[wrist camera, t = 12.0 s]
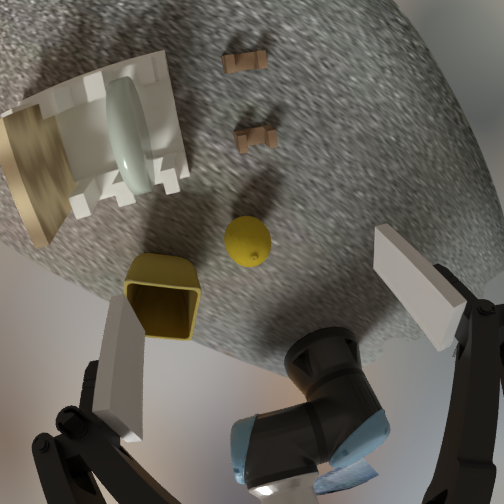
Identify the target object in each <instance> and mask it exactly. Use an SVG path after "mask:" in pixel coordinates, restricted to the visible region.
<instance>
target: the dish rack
mask: <svg viewBox="0 0 504 504" xmlns="http://www.w3.org/2000/svg"><path fill="white" fill-rule="evenodd" d="M125 76H129V77H130V78H131V79H132V81H133V83H134V85H135V87H136V90H137V92H138V95H139V98H140V101H141V104H142V108H143V112H144V115H145V119H146V124H147V128H148V133H149V138H150V143H151V149H152V155H153V163H154V174H155V184H154V185H156V184H160V183H163V184H164V187H165V191H166V195H168V194H172V193H176V192H180V179H181V178H185V177H189V176H190V171H189V167H188V162H187V158H186V153H185V148H184V144H183V139H182V134H181V130H180V125H179V120H178V115H177V110H176V106H175V101H174V96H173V90H172V85H171V80H170V75H169V70H168V64H167V59H166V54H165V50H162V51H157V52H153V53H150V54H146V55H142V56H138V57H135V58H131V59H128V60H124V61H121V62H118V63H115V64H111V65H108V66H105V67H102V68H99V69H96V70H94V71H91V72H88V73H85V74H83V75H80V76H77V77H75V78H72V79H70V80H67V81H65V82H62V83H60V84H57V85H55V86H53V87H50V88H48V89H46V90H43V91H41V92H39V93H37V94H35V95H33V96H30V97H28V98H26V99H24V100H22V101H20V102H18V105H19V106H18V107H15V108H12V109H10V110H8V111H6V112H4V113H3V114H1V115H2V117H5V116H7V115H10V114H12V113H15V112H17V111H20V110H23V109H25V108H28V107H31V106H34V105H37V104H39V106H40V110H41V114H42V118H43V120H44V119H46V118H49V117H51V116H54V115H55V118H56V121H57V125H58V129H59V132H60V136H61V139H62V142H63V146H64V149H65V152H66V156H67V159H68V162H69V165H70V168H71V171H72V174H73V177H74V180H75V183H76V186H77V187H76V188H75V190H74V191H73V192H72V194H71V195H70V196H69V198H68V199H69V201H70V204H71V207H72V209H73V212H74V214H75V217H76V219H80V218H83V217H86V216H90V215H92V213H93V211H94V209H95V207H96V205H97V203H98V201H99V200H101V199H105V198H108V197H112V196H116V199H117V202H118V205H119V207H121V206H125V205H129V204H133V203H136V200H137V197H138V195H134V194H132V192H131V191H130V190H129V189H128V187H127V186H126V184H125V182H124V180H123V178H122V176H121V173H120V171H119V168H118V165H117V163H116V160H115V156H114V153H113V149H112V145H111V141H110V137H109V131H108V125H107V117H106V91H107V87H108V84H109V82H110V81H112V80H115V79H119V78H122V77H125Z"/></svg>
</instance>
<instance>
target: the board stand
mask: <svg viewBox="0 0 504 504" xmlns="http://www.w3.org/2000/svg"><path fill="white" fill-rule="evenodd" d="M221 57H222V63H223V69H224V73H234V72H236V71H242V70H249V69H263V68H268V64H267V57H266V50H263V51H255V52H249V53H241V54H230V55H224V56H221ZM234 137H235V143H236V148H237V149H238V151H239V152H240V154H242V153H247V152H248V146H251V145H257V144H262V143H265V144H266V145H267V146H268V147H269V148H275V147H278V144H277V136H276V130H275V129H274V128H272V127H271V126H270V125H265V126H258V127H252V128H247V129H241V130H235V131H234Z"/></svg>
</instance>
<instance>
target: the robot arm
mask: <svg viewBox="0 0 504 504" xmlns="http://www.w3.org/2000/svg"><path fill="white" fill-rule="evenodd" d="M373 269H374V270H375V271H376V272H377V274H378V275H379V276H380V277H381V278H382V280H383V281H384V282H385V283H386V285H387V286H388V287H389V288H390V289H391V291H392V292H393V293H394V294H395V296H396V297H397V298H398V299H399V301H400V302H401V303H402V304H403V306H404V307H405V308H406V310H407V311H408V312H409V313H410V315H411V316H412V317H413V319H414V320H415V321H416V322H417V324H418V325H419V326H420V328H421V329H422V330H423V332H424V333H425V334H426V336H427V337H428V338H429V339H430V341H431V342H432V344H433V345H434V346H435V348H436V349H437V350H438V352H439V351H441V350H443V349H445V348H447V347H449V346H451V344H452V342H453V339H454V337H455V338H456V339H457V340H458V341H459V342H458V344H457V347H456V349H455V351H454V354H453V357H455V355H456V362H455V372H454V379H453V387H452V393H451V400H450V406H449V412H448V417H447V422H446V427H445V432H444V437H443V441H442V446H441V450H440V454H439V458H438V461H437V465H436V469H435V473H434V476H433V479H432V481H431V484H430V485H429V487H428V489H427V491H426V493H425V495H424V498H423V501H422V504H490V501H491V496H492V492H493V488H494V483H495V478H496V466H495V465H494V464H493V461H492V459H493V452H494V445H495V438H496V429H497V420H498V408H499V392H500V379H501V384H502V389H503V395H504V304H500V305H494V304H493V303H492V302H490V301H489V300H485V299H479V300H478V299H477V298H476V297H475V296H474V295H473V293H472V292H471V291H470V290H469V289H468V288H467V287H466V286H465V285H464V284H463V283H462V282H461V281H459V279H458V278H457V277H456V276H454V274H453V273H452V272H451V271H450V270H448V269H447V268H446V267H444V266H442V265H440V264H435V265H433V266H432V265H431V264H430V263H429V262H428V261H427V260H426V259H425V258H424V257H423V256H422V255H421V254H420V253H419V252H418V251H417V250H416V249H415V248H414V247H412V246H411V245H410V244H409V243H408V242H407V241H406V240H405V239H404V238H403V237H402V236H401V235H399V234H398V233H397V232H396V231H395V230H394V229H393V228H392V227H391V226H389V225H388V224H387V223H386V224H383V225H379V226H375V242H374V265H373ZM144 342H145V330H144V328H143V327H142V325H141V323H140V321H139V320H138V318H137V316H136V314H135V312H134V311H133V309H132V307H131V305H130V303H129V301H128V299H127V298H126V296H125V294H122V295H118V296H114V297H111V301H110V305H109V310H108V315H107V320H106V324H105V330H104V335H103V340H102V346H101V352H100V357H99V360H96V361H91V362H90V363H89V365H88V367H87V368H86V370H85V374H84V380H83V381H84V382H83V385H82V389H83V390H82V392H81V398H80V405H79V408H78V407H76V406H72V405H71V406H67V407H65V408H63V409H62V410H61V411H60V412H59V413H58V415H57V418H56V427H57V430H58V431H60V432H61V433H62V434H60V435H58V436H55V437H52V436H51V435H50V434H48V433H41V434H39V435H38V436H36V437H35V439H34V441H33V443H32V453H33V457H34V461H35V465H36V468H37V472H38V475H39V478H40V482H41V485H42V488H43V491H44V494H45V497H46V500H47V503H48V504H106V501H105V499H104V498H103V495H102V493H101V491H100V489H99V487H98V485H97V483H96V480H95V478H94V476H93V474H92V471H93V473H94V474H95V475H96V477H97V478H98V479H99V480H100V482H101V483H102V484H103V485H104V486H105V488H106V489H107V490H108V491H109V493H110V494H111V495H112V496H113V497H114V499H115V500H116V501H117V502H118V503H119V504H181V503H180V502H179V501H178V500H177V499H176V498H174V497H173V496H172V495H171V494H170V493H168V491H167V490H165V489H164V488H163V487H162V486H161V485H160V484H159V483H158V482H157V481H156V480H155V479H154V478H153V477H152V476H150V474H149V473H148V472H147V471H145V470H144V469H143V468H142V467H141V466H140V465H139V463H138V462H137V461H136V460H135V459H134V458H133V457H132V456H131V455H130V454H129V453H128V452H127V451H126V450H125V449H124V448H123V447H122V446H121V445H120V437H121V438H122V439H124V440H125V441H126V442H135V441H143V434H142V433H143V432H142V430H143V429H142V400H143V398H142V397H143V363H144ZM284 366H285V369H286V372H287V374H288V376H289V378H290V379H291V380H292V381H293V383H294V384H295V385H296V386H297V387H298V388H299V390H300V391H301V392H302V393H303V394H304V395H305V397H306V399H307V402H306V403H302V404H298V405H295V406H291V407H288V408H284V409H280V410H276V411H272V412H268V413H263V414H255V415H254V416H251V417H248V418H244V419H240V420H238V421H236V422H235V423H234V424H233V426H232V429H231V435H230V447H231V458H232V465H233V467H234V476H235V479H236V481H237V482H238V483H240V484H247V488H248V491H249V493H251V494H253V495H254V496H256V497H258V498H259V499H260V500H261V503H262V504H319V503H318V500H317V497H316V494H315V491H314V487H313V485H314V483H315V481H316V479H317V478H318V476H319V472H318V469H317V465H319V464H322V463H325V462H329V465H331V466H332V467H333V468H340V467H344V466H347V465H350V464H352V463H354V462H356V461H358V460H360V459H361V458H363V457H365V456H366V455H368V454H370V453H371V452H372V451H374V450H375V449H376V448H378V447H379V446H380V445H381V444H382V443H383V442H384V441H385V440H386V439H387V437H388V435H389V433H390V425H389V422H388V420H387V418H386V415H385V410H384V409H383V408H382V406H381V405H380V403H379V401H378V399H377V397H376V395H375V393H374V391H373V390H372V388H371V386H370V384H369V382H368V380H367V378H366V376H365V374H364V373H363V371H362V366H361V359H360V351H359V345H358V342H357V340H356V339H355V337H354V335H353V334H352V332H350V331H349V330H347V329H344V328H339V327H333V328H326V329H322V330H319V331H316V332H314V333H311V334H309V335H307V336H306V337H304V338H302V339H301V340H299V341H298V342H297V343H296V344H295V345H294V346H293V347H292V348H291V349H290V350H289V351H288V353H287V355H286V357H285V360H284Z"/></svg>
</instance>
